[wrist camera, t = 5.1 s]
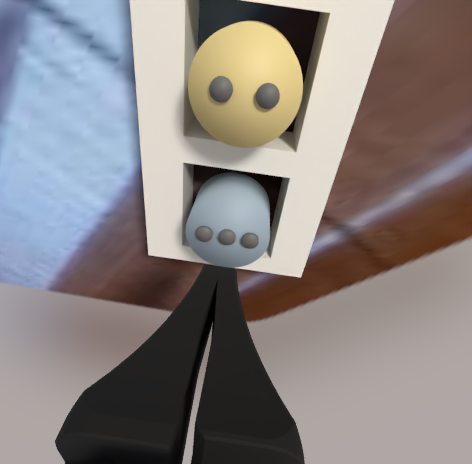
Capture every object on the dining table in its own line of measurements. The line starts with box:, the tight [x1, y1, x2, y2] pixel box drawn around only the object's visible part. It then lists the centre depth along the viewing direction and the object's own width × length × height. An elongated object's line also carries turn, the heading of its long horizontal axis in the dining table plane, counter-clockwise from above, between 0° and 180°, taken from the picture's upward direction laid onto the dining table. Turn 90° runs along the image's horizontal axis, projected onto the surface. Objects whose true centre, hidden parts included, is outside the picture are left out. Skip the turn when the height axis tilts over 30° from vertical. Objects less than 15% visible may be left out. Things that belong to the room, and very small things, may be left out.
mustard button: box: [188, 20, 303, 148], centre depth 13 cm, size 4×4×3 cm
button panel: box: [130, 0, 394, 277], centre depth 15 cm, size 22×10×3 cm, turn 173°
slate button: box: [185, 172, 270, 268], centre depth 17 cm, size 4×4×3 cm
